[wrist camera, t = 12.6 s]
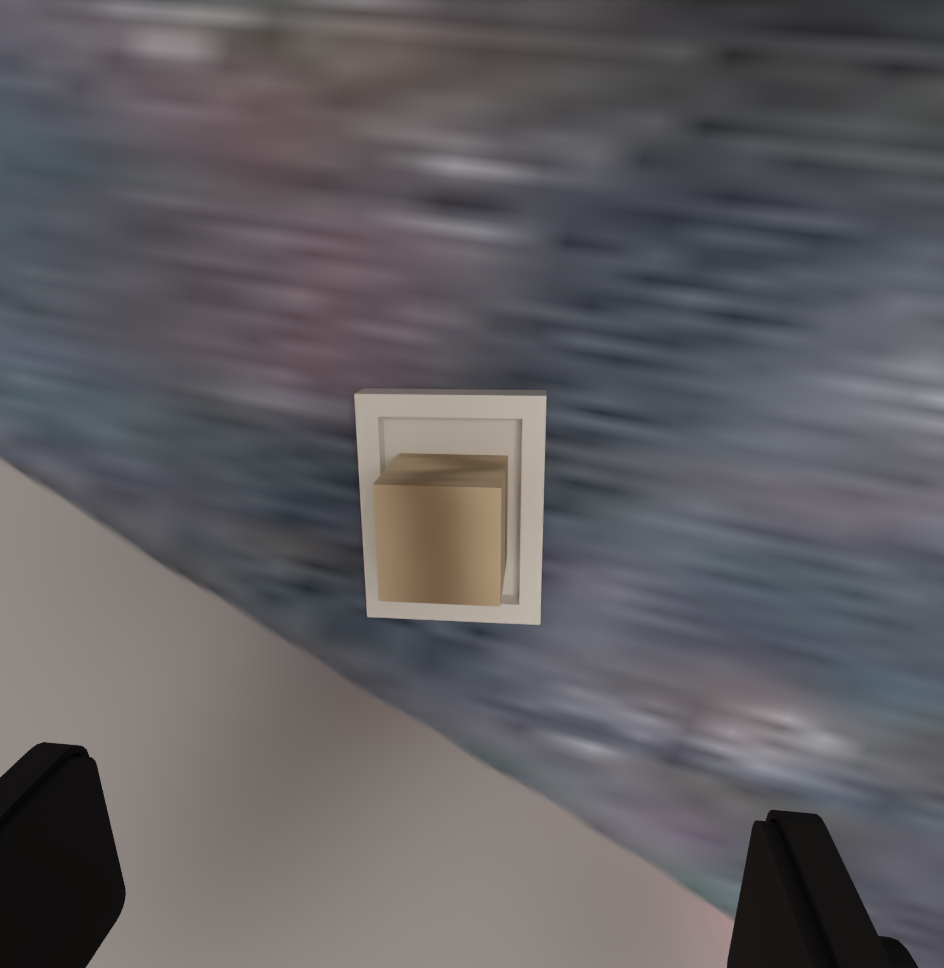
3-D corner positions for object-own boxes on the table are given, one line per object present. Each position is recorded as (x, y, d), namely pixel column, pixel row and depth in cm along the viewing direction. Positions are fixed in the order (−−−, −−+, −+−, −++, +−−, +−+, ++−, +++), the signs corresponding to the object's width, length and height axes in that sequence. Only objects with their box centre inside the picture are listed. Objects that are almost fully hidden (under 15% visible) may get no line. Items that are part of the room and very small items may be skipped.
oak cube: (508, 455, 36) (501, 487, 30) (507, 557, 37) (500, 606, 32) (399, 453, 36) (372, 484, 30) (403, 553, 38) (378, 601, 32)
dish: (546, 390, 35) (546, 395, 33) (540, 608, 39) (540, 624, 37) (364, 388, 36) (354, 394, 34) (375, 601, 40) (367, 617, 38)
